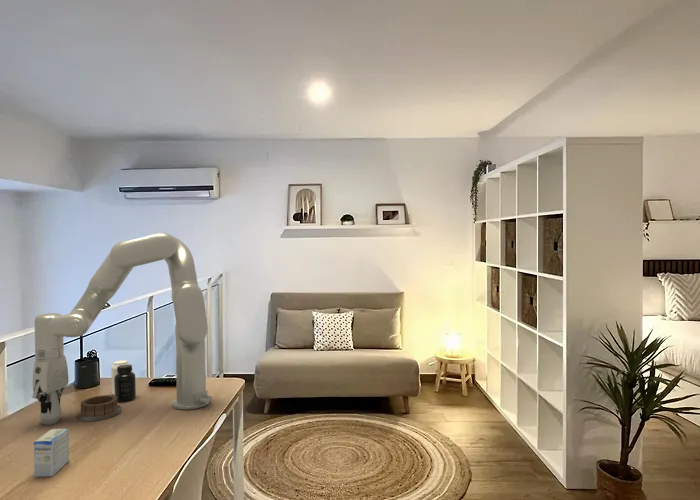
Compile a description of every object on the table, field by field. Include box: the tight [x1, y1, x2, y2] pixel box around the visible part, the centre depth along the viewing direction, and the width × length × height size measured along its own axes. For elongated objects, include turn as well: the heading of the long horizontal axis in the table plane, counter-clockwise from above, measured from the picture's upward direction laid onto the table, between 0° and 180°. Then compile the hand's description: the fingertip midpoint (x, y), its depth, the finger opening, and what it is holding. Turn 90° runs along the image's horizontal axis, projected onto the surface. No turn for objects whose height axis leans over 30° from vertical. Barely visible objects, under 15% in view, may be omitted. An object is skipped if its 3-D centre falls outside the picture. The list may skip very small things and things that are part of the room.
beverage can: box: [111, 359, 131, 396], centre depth 177 cm, size 6×6×12 cm
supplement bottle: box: [114, 364, 137, 403], centre depth 171 cm, size 7×7×12 cm
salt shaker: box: [39, 391, 63, 426], centre depth 150 cm, size 6×6×13 cm
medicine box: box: [33, 428, 70, 478], centre depth 119 cm, size 8×4×9 cm, turn 5°
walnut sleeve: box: [76, 394, 123, 423], centre depth 157 cm, size 13×13×4 cm
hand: (50, 412), depth 150 cm, fingers closed on salt shaker, 3 cm apart
